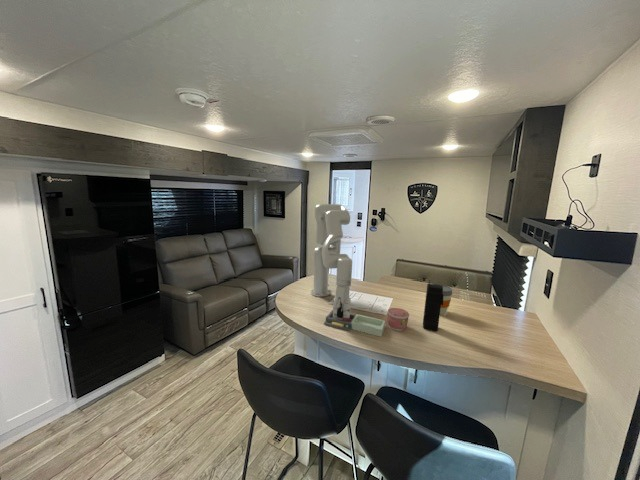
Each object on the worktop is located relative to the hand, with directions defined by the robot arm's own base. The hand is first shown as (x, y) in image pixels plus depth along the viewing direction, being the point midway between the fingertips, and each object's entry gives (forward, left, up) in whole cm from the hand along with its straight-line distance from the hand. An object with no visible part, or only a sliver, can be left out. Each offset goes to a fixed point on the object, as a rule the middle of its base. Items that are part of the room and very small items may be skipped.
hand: (341, 314), depth 132 cm
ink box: (0, 0, -3) cm, 3 cm away
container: (-8, +27, -4) cm, 28 cm away
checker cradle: (0, 0, -4) cm, 4 cm away
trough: (0, +14, -4) cm, 15 cm away
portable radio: (-15, +43, -4) cm, 46 cm away
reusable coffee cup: (-37, +46, -4) cm, 60 cm away
